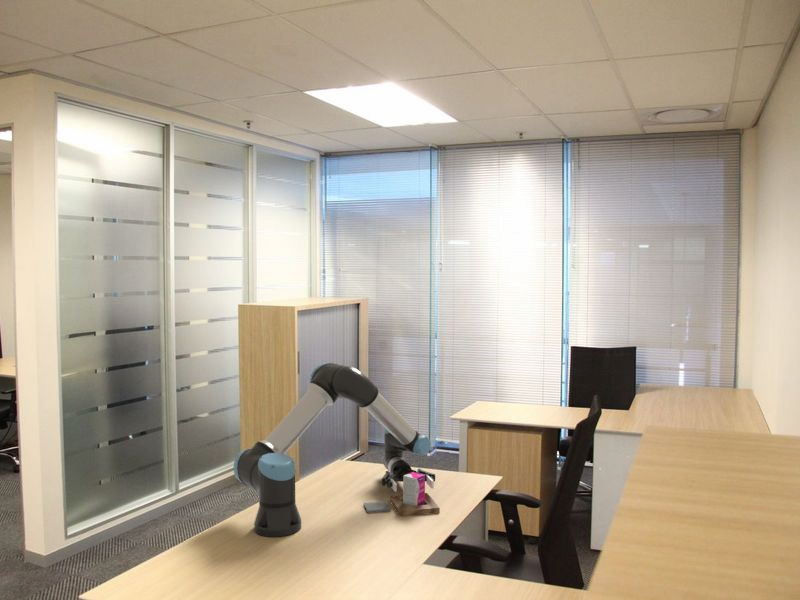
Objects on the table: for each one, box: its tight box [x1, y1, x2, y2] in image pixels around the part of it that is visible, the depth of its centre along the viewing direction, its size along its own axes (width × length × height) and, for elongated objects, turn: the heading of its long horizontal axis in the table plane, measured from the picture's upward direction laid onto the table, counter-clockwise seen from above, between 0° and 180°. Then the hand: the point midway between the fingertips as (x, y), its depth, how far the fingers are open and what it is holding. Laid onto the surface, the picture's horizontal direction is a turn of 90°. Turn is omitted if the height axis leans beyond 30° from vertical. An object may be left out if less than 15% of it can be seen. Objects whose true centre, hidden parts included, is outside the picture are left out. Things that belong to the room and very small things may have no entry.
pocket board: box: [389, 492, 440, 517], centre depth 246 cm, size 14×16×2 cm
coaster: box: [363, 500, 391, 514], centre depth 245 cm, size 8×8×1 cm
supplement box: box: [402, 472, 426, 507], centre depth 246 cm, size 6×6×12 cm
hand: (414, 486), depth 247 cm, fingers open, 13 cm apart
